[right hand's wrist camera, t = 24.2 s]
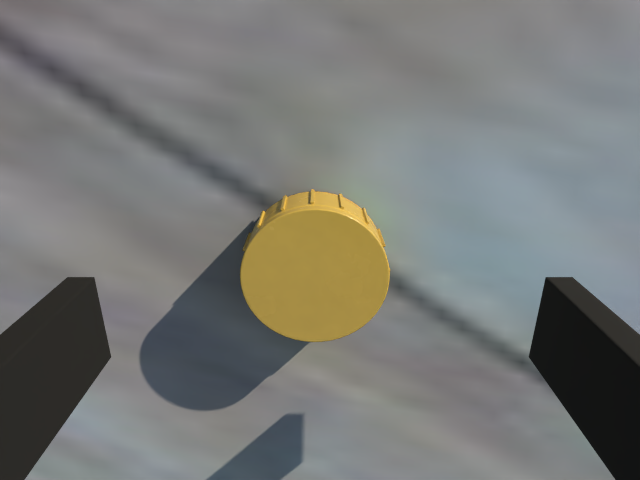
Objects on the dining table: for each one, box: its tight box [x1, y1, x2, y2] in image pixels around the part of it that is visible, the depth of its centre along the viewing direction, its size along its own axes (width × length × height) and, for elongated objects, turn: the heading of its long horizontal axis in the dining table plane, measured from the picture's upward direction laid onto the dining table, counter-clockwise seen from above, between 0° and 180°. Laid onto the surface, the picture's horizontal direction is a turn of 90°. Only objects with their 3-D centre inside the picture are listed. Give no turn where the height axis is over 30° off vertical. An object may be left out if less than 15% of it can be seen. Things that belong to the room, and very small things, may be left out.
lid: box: [240, 189, 390, 342], centre depth 15 cm, size 5×5×2 cm
